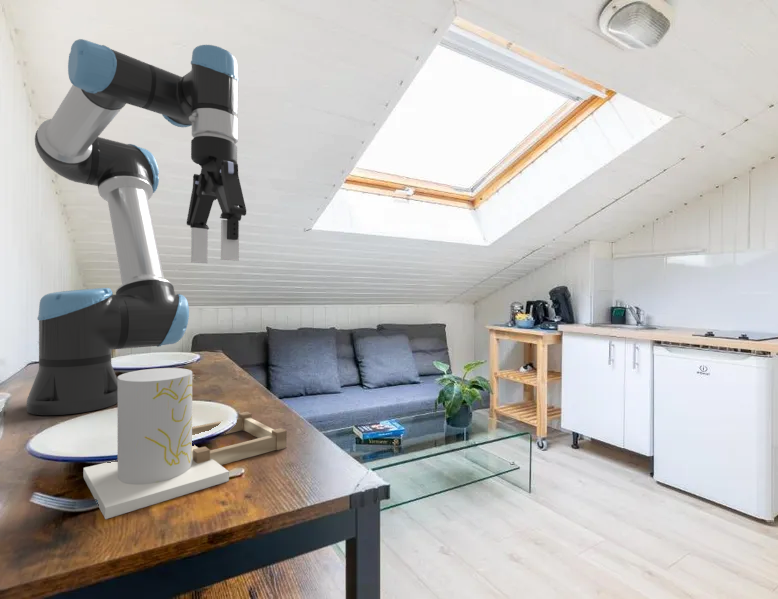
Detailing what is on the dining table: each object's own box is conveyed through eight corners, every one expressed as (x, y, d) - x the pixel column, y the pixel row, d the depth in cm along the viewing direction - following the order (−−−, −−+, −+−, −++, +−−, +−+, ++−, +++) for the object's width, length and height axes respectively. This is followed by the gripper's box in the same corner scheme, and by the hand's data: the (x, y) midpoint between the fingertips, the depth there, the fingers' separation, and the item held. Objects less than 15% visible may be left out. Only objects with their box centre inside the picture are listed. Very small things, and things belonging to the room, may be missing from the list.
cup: (160, 487, 48) (161, 383, 47) (100, 480, 49) (100, 379, 49) (205, 459, 56) (205, 369, 55) (152, 453, 57) (152, 366, 57)
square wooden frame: (165, 444, 64) (165, 427, 64) (247, 426, 73) (247, 411, 73) (197, 472, 54) (197, 453, 54) (286, 447, 64) (286, 430, 64)
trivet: (83, 477, 53) (83, 467, 53) (191, 450, 62) (191, 442, 62) (105, 519, 43) (105, 507, 43) (228, 480, 52) (228, 471, 52)
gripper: (169, 152, 80) (168, 262, 81) (222, 114, 62) (221, 257, 63) (208, 160, 85) (207, 264, 86) (268, 129, 68) (267, 260, 68)
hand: (213, 261), depth 74 cm, fingers open, 13 cm apart
